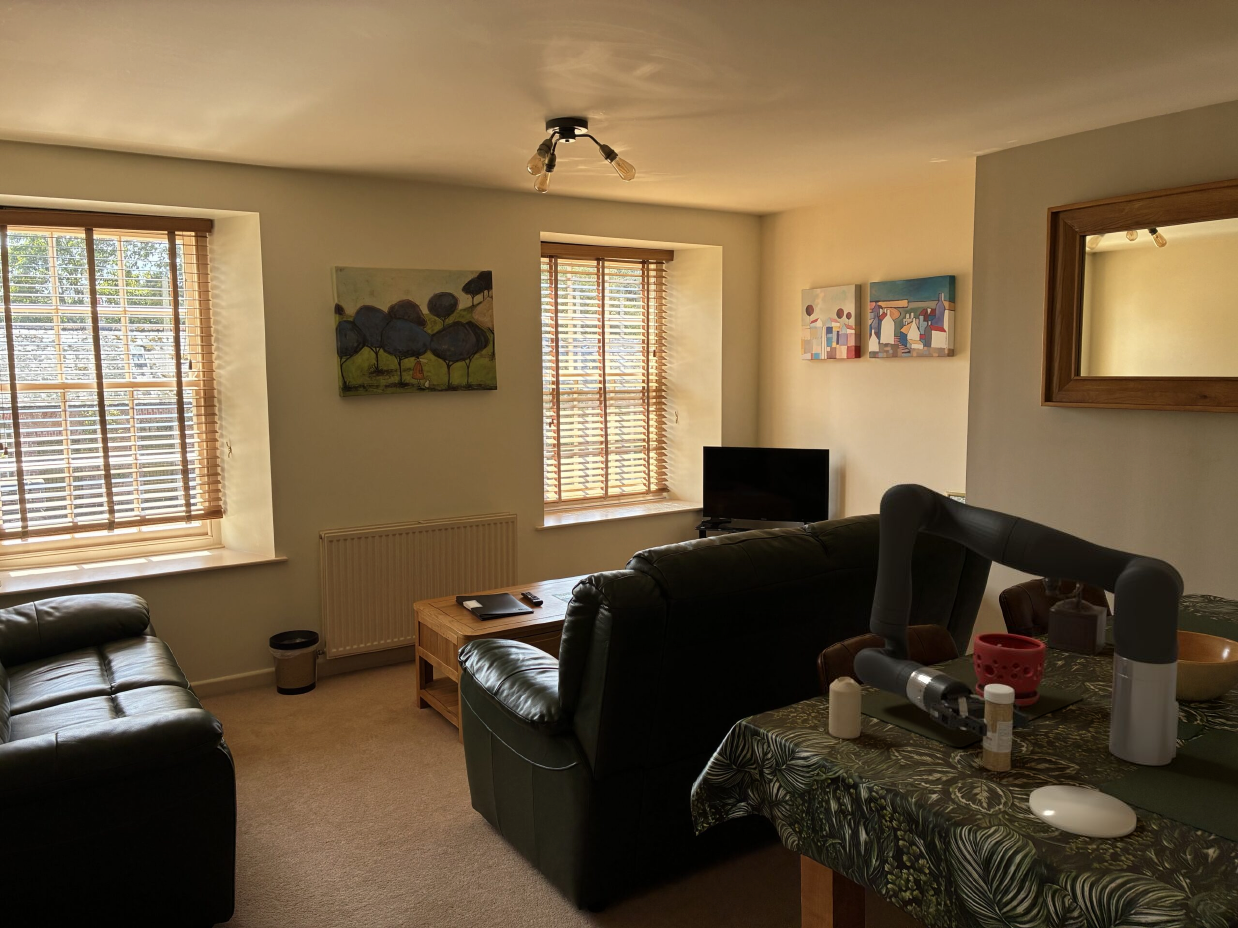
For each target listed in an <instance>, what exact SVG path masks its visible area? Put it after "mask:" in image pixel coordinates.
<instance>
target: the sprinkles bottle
mask: <svg viewBox="0 0 1238 928" xmlns="http://www.w3.org/2000/svg"><path fill="white" fill-rule="evenodd" d="M984 698H985V718H984V720H983V722H985V723H986V724H987V736H984V737H982V759H981V766H983V768H984V769H987V770H990V771H993V772H1007V771H1009V770H1011V768H1012V765H1011V752H1012V744H1013V743H1012V741H1013V719H1012V715H1013V703H1014V689H1012V688H1011V687H1009V686H1006V685H1001V684H989V685H986V686H985V689H984Z"/></svg>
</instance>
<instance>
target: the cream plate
mask: <svg viewBox="0 0 1238 928" xmlns="http://www.w3.org/2000/svg"><path fill="white" fill-rule="evenodd" d="M1028 803H1029V809H1030V811H1031V812H1032V813H1033V815H1034V816H1036V817H1037V818H1038V819H1040V821H1042V822H1044V823H1046V824H1048V825H1049V826H1051V827H1054V828H1057V829H1058V830H1061V831H1065V832H1067V833H1070V834H1074V835H1079V836H1084V837H1088V838H1089V837H1090V838H1091V837H1092V838H1102V839H1111V838H1119V837H1124V836H1128V835H1129V834H1131V833H1133V832H1134V831H1135V830H1136V827H1137V815H1136V812H1135V811H1134V810H1133V809H1132V808H1131V807H1130V806H1129V805H1128V804H1127V803H1125V802H1124V801H1122V800H1120V799H1118V798H1116V797H1114V796H1112V795H1109V794H1106V793H1104V792H1101V791H1097V790H1094V789H1090V788H1086V787H1081V786H1074V785H1061V784H1060V785H1047V786H1042V787H1039V788H1036V789H1035V790H1033V791H1032V792H1031V793H1030V795H1029V802H1028Z"/></svg>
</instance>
